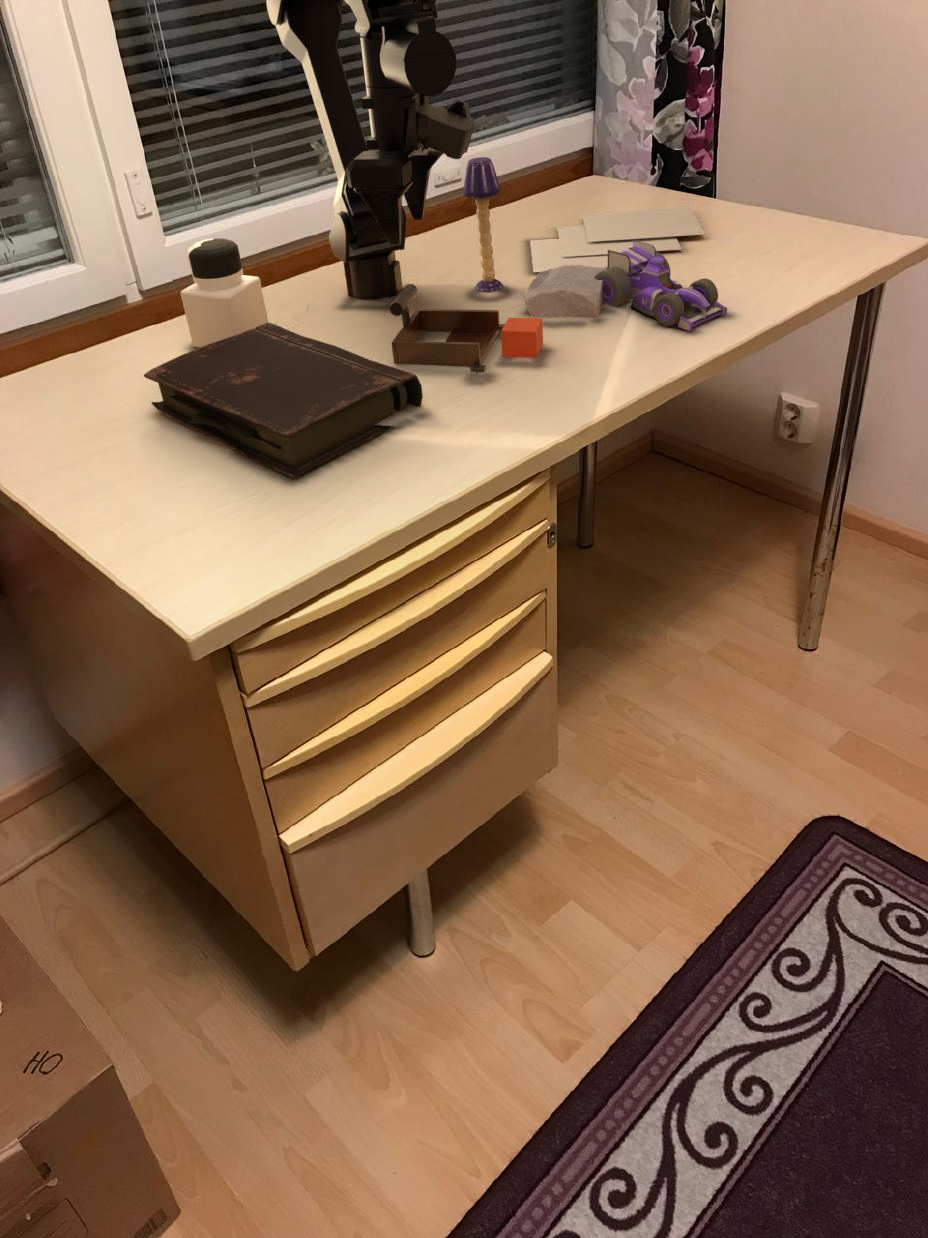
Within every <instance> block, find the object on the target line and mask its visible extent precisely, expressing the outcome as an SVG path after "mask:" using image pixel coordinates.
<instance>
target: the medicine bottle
mask: <svg viewBox="0 0 928 1238" xmlns="http://www.w3.org/2000/svg"><path fill="white" fill-rule="evenodd" d="M186 255H187V259H188V264H189V267H190V268H189V269H190V272H191V276H192V281H193V282H194V283H193V284H191V285H189V286H188V287H186V288H184V289H182V290H181V291H180V298H181V302H182V305H183V310H184V314H185V318H186V322H187V326H188V330H189V335H190V338H191V343H192V346H193V347H195V348H201V347H203V346H206V345H208V344H211V343H214V342H217V341H220V340H223V339H226V338H229V337H232V336H235V335H238V334H240V333H243V332H245V331H248V330H250V329H253V328H254V329H255V328H256V327H258V326H260V325H262V324H265V323H267V322H269V319H268V313H267V308H266V303H265V298H264V292H263V288H262V283H261V278H260V276H255V275H254V276H253V275H244V270H243V265H242V259H241V255H240V249H239V245H238V244H237V243H236V242H235V241H233V240H230V239H227V238H223V237H222V238H221V237H218V238H217V237H216V238H208V239H203V240H200V241H197V242H196V243H193V244H192V245H190V246H189V248H188V249H187V252H186Z"/></svg>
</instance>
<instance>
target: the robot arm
mask: <svg viewBox="0 0 928 1238" xmlns="http://www.w3.org/2000/svg"><path fill="white" fill-rule="evenodd" d="M344 2H345V3H346V4H347V5H348V6H349V7H350V9H351V11H352V12H353V14H354V16H355V18H356V19H357V20H356V22H355V25H354V31H355V32H356V33H359V35H360V36H359V39H360V47H361V56H362V63H363V73H364V81H365V92H366V95H365V96H363V97H362V98H361V109H362V110H368V116H369V124H370V126H369V127H370V133H371V136H369V138H367V139H366V138H365V137H366V136H365V134H364V131H363V128H362V124H361V120H360V119H359V118H360V117H359V115H358V112H357V109H356V104H355V102H354V101H355V100H354V98H353V95H352V92H351V89H350V86H349V82H348V78H347V75H346V72H345V69H344V65H343V61H342V58H341V56H340V52H339V49H338V41H339V38H340V34H341V28H342V23H343V16H342V8H343V4H344ZM436 2H437V0H266V9H267V14H268V17H269V19H270V22H271V24H272V25H273V26H275V28H276V31H277V34H278V37H279V39H280V42H281V44H282V45H283V47H284V48H285V49H287V50H288V52H289V53H291V55H293V56H294V57H295V58H296V59H297V60H298V61H299V62H300V63H301V65H302V68H303V71H304V74H305V78H306V81H307V85H308V88H309V90H310V94H311V97H312V100H313V103H314V106H315V109H316V113H317V117H318V119H319V123H320V126H321V129H322V132H323V133H322V134H323V137H324V138H325V143H326V146H327V149H328V152H329V155H330V158H331V161H332V165H333V168H334V171H335V174H336V178H337V187H336V191H335V196H334V199H333V204H332V208H333V211H334V218H333V222H332V225H331V229H330V232H329V235H328V241H329V244H330V248H331V252H332V255H333V256H334V257H336V258H337V259H339V260H340V261H342V262H343V270H344V277H345V283H346V284H345V285H346V290H347V296H348V297H354V298H355V299H358V300H362V301H363V300H364V301H373V300H381V299H384V298H393V297H397V296H398V295H399V294H400V293H401V291H402V290H403V289H404V287H403V279H402V270H401V262H400V261H399V260H398V259H397V258H396V257H397V256H396V252H397V251H404V250H406V249H405V248H406V236H407V234H406V233H407V214H406V211H405V208H404V206H403V197H404V198H405V202H406V204H407V207H408V210H409V212H410V215H411V217H412V219H413V221H422V220H423V219H424V214H425V208H426V200H427V194H428V188H429V181H430V174H431V170H432V168H433V166H434V165H435V164H436V163H437V162H438V161H439V159H440V158H441V157H442V156H443V155H445V156H446V157H447V158H450V159H453V160H461V159H462V157H463V156H464V154H467V153H468V151H469V147H470V143H471V139H472V135H473V133H475V131H476V126H475V124H476V123H475V119H476V118H475V117H472V116H471V115H472V114H471V109H470V104H469V102H467V101H464V100H462V99H458V98H456V99H455V100H454V101H453V102H452V103H451V104H450V105H449V106H448V107H447V109H445V106H442V105H440V106H434V105H433V104H429V97H436V96H438V95H440V94H442V93H444V92H445V91H446V90H447V89H448V88H449V86H450V85H451V84H452V82H453V80H454V77H455V74H456V71H457V62H458V61H457V54H456V52H455V50H454V47H453V45H452V43H451V42H450V40H449V38H447V36H445V35H444V34H443V33H441V32H439V31H437V28H436V20H437V19H438V11H437V8H436Z"/></svg>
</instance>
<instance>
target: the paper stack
mask: <svg viewBox="0 0 928 1238" xmlns="http://www.w3.org/2000/svg"><path fill="white" fill-rule="evenodd" d="M580 216H581V220H582V223H583V225H582V224H581V225H565V226H557V227H556V230H557V234H558V238H547V239H545V238H544V239H531V240H529V244H530V253H531V262H532V263H531V264H532V271H533V273H541V272H542V271H546V270H548V269H555V268H557V267H560V266H563V265H583V266H592V267H597V268H598V267H600V268H602V267H605V266H606V267H608V250H612V251H615V252H619V253H620V252H623V251H625V250H628V249H629V248H631V247H633V240H635V241H639V242H643V243H647V244H650V245H653V246H654V247H655V249H656V252H666V251H680V250H683V249H682V246H681V245H680V242H679V240H678V238H677V237H685V236H701V235H706V233H705V231H704V229H703V227H702V226H701V224H700V222H699V220H698V219H697V217H696V215H695V213H694V211H693V210H692V208H691V206H689V205H688V206H687V205H686V206H673V207H658V208H644V209H643V208H642V209H628V210H614V211H613V210H612V211H611V210H610V211H599V212H583V213H580Z"/></svg>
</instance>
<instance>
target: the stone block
mask: <svg viewBox="0 0 928 1238" xmlns="http://www.w3.org/2000/svg"><path fill="white" fill-rule="evenodd" d="M607 268H608V267H606V266H605V267H602V268H600V267H598V268H597V267H592V266H583V265H563V266H560V267H557V268H555V269H548V270H546V271H542V272H537V274H536V275H535V278H534V279H533V280H532V281H531V283H530V284H529V285H528V288H527V292H525V293H524V294H525V295H524V299H525V309H526V310H527V313H528V316H532V317H536V318H568V317H569V318H586V319H587V318H598V317H600V315H601V310H602V308H603V304H604V302H603V293H604V282H603V280H597V279H595V278H594V277H595V275H596V274H597V273H599V272H601V271H604V270H606V269H607Z"/></svg>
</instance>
